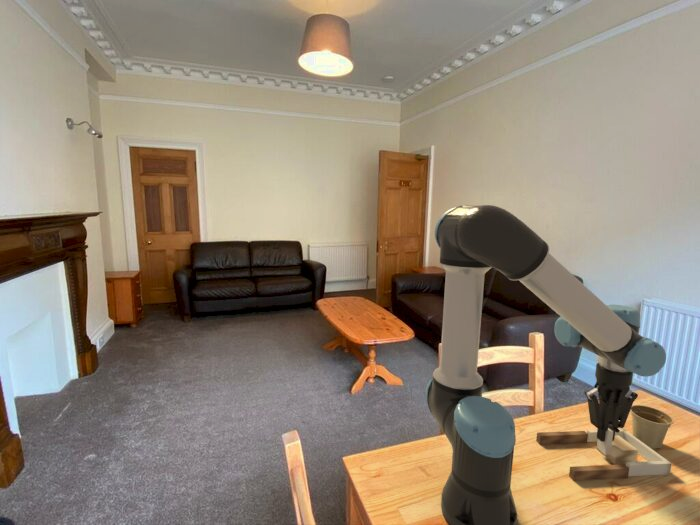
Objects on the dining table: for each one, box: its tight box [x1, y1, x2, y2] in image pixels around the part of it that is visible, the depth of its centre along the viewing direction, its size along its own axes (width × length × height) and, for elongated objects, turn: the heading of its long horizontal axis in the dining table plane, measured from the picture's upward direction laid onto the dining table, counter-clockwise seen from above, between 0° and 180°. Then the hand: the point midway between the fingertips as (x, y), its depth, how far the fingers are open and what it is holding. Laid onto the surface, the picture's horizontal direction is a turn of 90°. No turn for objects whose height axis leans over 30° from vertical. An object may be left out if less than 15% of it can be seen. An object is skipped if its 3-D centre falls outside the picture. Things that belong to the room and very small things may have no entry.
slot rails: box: [535, 430, 629, 482], centre depth 94 cm, size 14×15×2 cm
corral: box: [586, 428, 672, 477], centre depth 95 cm, size 11×14×3 cm
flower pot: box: [630, 404, 675, 450], centre depth 100 cm, size 9×9×9 cm
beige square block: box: [595, 435, 639, 465], centre depth 94 cm, size 6×6×4 cm
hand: (603, 451), depth 94 cm, fingers closed
